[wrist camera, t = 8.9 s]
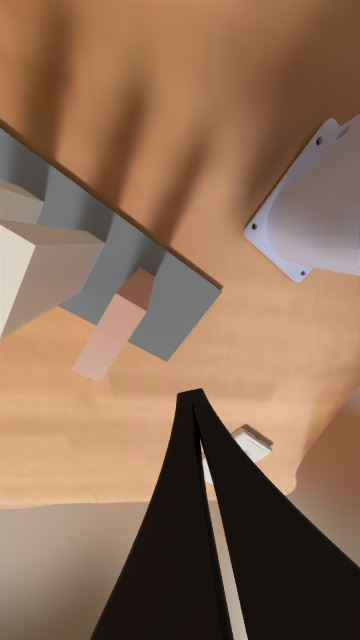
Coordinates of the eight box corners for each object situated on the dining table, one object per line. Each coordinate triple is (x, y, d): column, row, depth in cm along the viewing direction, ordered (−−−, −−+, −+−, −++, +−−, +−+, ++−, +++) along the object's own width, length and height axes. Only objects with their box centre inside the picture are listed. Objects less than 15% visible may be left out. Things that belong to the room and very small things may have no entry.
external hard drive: (184, 461, 31) (240, 423, 28) (215, 476, 33) (268, 443, 30) (185, 472, 29) (244, 433, 26) (217, 487, 32) (274, 453, 29)
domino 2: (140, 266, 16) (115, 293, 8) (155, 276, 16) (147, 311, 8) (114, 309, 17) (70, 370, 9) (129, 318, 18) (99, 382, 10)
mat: (-275, -75, 8) (-295, -90, 8) (220, 290, 18) (222, 291, 18) (-250, 143, 11) (-264, 140, 11) (166, 359, 21) (166, 361, 20)
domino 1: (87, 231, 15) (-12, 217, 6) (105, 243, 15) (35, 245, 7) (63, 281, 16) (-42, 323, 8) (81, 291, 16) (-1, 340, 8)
